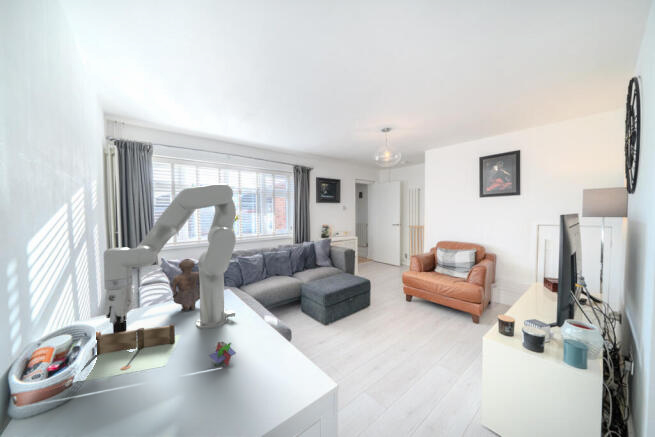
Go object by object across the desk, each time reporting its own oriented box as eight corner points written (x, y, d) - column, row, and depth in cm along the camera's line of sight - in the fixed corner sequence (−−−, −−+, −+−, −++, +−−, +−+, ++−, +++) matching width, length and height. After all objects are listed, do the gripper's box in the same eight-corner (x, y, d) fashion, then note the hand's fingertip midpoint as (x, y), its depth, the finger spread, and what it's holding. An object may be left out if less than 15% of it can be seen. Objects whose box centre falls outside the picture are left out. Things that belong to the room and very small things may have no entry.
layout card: (181, 335, 92) (181, 334, 92) (164, 367, 73) (164, 366, 73) (107, 346, 85) (107, 344, 85) (67, 385, 66) (67, 383, 66)
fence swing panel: (137, 346, 83) (137, 325, 83) (135, 349, 82) (134, 327, 81) (96, 352, 79) (95, 330, 79) (92, 355, 78) (92, 333, 78)
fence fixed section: (175, 341, 87) (175, 323, 87) (174, 344, 85) (173, 325, 85) (138, 347, 83) (138, 328, 83) (136, 350, 82) (135, 331, 81)
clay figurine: (199, 302, 125) (199, 255, 124) (206, 308, 118) (205, 258, 117) (170, 310, 116) (169, 259, 115) (175, 316, 108) (174, 262, 108)
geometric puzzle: (243, 356, 75) (233, 333, 77) (224, 369, 69) (213, 343, 71) (231, 364, 78) (222, 341, 80) (212, 376, 72) (202, 351, 74)
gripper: (121, 287, 79) (123, 341, 79) (139, 276, 93) (140, 322, 93) (93, 290, 76) (94, 346, 77) (116, 277, 90) (117, 325, 91)
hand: (120, 332), depth 85 cm, fingers closed
